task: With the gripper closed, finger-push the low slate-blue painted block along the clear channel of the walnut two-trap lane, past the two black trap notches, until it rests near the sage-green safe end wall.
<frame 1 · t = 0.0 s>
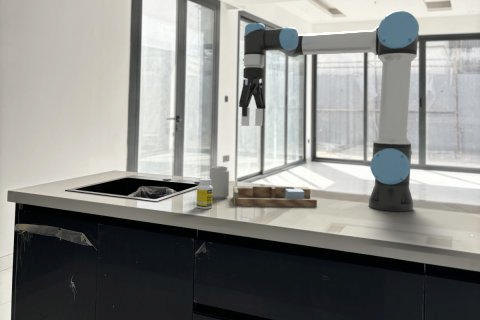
hand: (252, 125, 156), 28 cm above the worktop, fingers open, 13 cm apart
supplement bottle: (204, 208, 143), on the worktop
can: (218, 197, 163), on the worktop
block: (294, 203, 155), on the worktop
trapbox: (271, 201, 156), on the worktop
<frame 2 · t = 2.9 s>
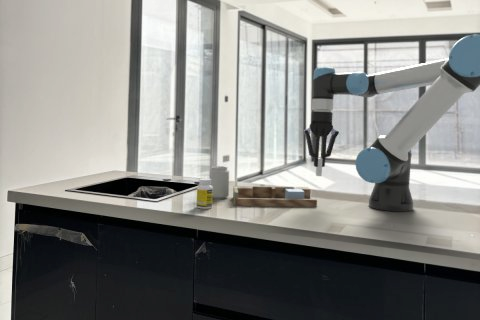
hand: (318, 175, 155), 10 cm above the worktop, fingers closed
nothing on the worktop moved.
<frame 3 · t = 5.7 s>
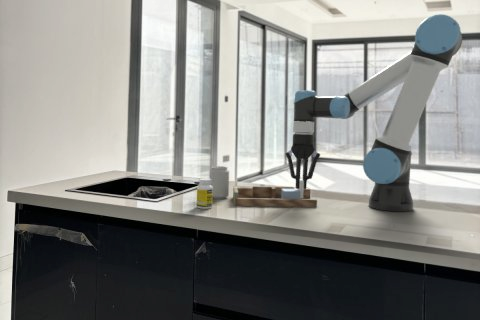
hand: (300, 197, 155), 2 cm above the worktop, fingers closed
block: (290, 203, 155), on the worktop
everything else where it was.
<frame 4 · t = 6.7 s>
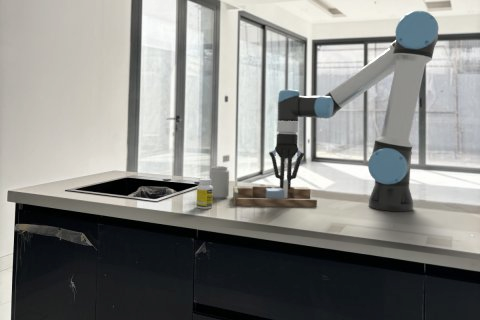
hand: (284, 197, 155), 2 cm above the worktop, fingers closed
block: (274, 203, 154), on the worktop, touching gripper
everything else where it was.
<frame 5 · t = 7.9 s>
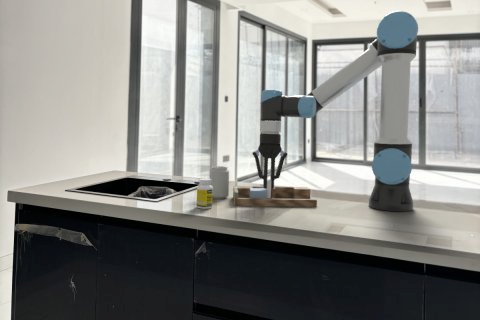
hand: (268, 197, 154), 2 cm above the worktop, fingers closed
block: (258, 202, 154), on the worktop, touching gripper
everything else where it was.
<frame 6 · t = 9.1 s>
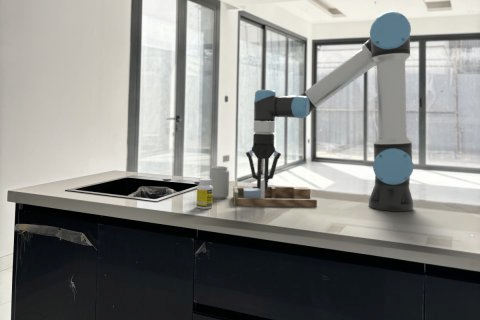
hand: (261, 197, 154), 2 cm above the worktop, fingers closed
block: (251, 203, 154), on the worktop
everything else where it was.
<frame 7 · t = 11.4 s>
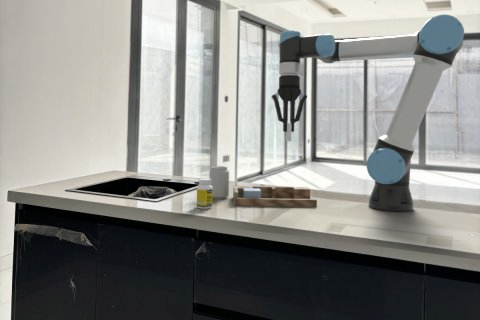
hand: (288, 141, 153), 23 cm above the worktop, fingers closed
nothing on the worktop moved.
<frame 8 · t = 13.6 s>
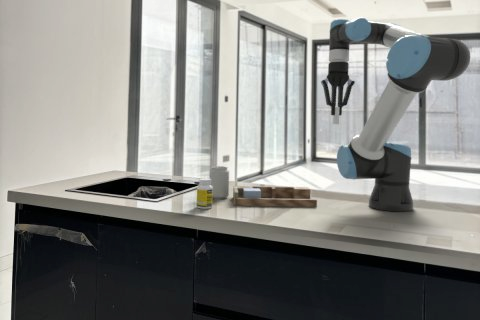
hand: (335, 124, 163), 29 cm above the worktop, fingers closed
nothing on the worktop moved.
at the end: block inside the target area (0.2 cm from its centre), on the worktop; block tilted 0° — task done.
